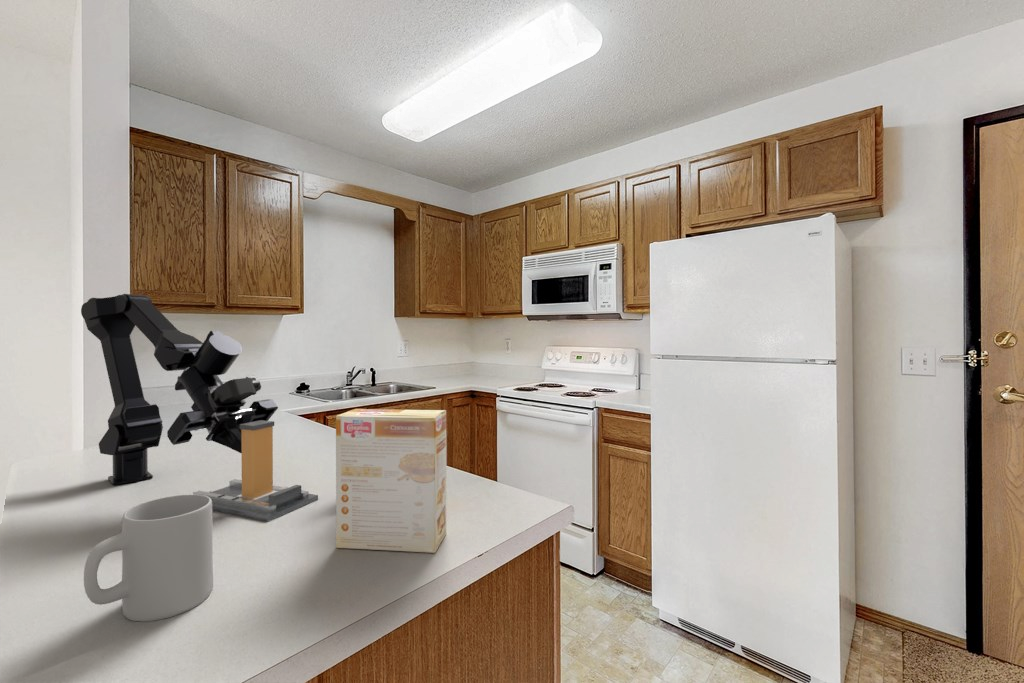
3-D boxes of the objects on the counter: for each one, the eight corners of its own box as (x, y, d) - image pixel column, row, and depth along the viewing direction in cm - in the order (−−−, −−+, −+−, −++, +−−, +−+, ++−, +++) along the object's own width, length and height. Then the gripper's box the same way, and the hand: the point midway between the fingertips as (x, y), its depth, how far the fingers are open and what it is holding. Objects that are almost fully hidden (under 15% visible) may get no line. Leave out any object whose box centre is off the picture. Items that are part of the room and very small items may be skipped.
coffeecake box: (447, 533, 73) (447, 409, 72) (435, 554, 65) (435, 417, 65) (355, 528, 74) (355, 407, 74) (334, 549, 67) (334, 414, 67)
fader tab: (236, 500, 83) (235, 424, 83) (259, 492, 88) (259, 419, 88) (255, 504, 82) (255, 426, 81) (278, 495, 86) (278, 421, 86)
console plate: (185, 504, 84) (185, 487, 84) (240, 486, 94) (240, 470, 94) (268, 521, 76) (268, 502, 76) (318, 499, 87) (318, 482, 87)
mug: (188, 574, 60) (188, 489, 60) (228, 591, 56) (228, 501, 56) (66, 626, 49) (65, 523, 49) (105, 651, 45) (104, 540, 45)
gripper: (177, 365, 78) (224, 436, 74) (270, 360, 96) (312, 416, 92) (147, 409, 81) (191, 479, 77) (243, 396, 99) (283, 452, 95)
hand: (250, 454), depth 85 cm, fingers closed, pressing on fader tab
